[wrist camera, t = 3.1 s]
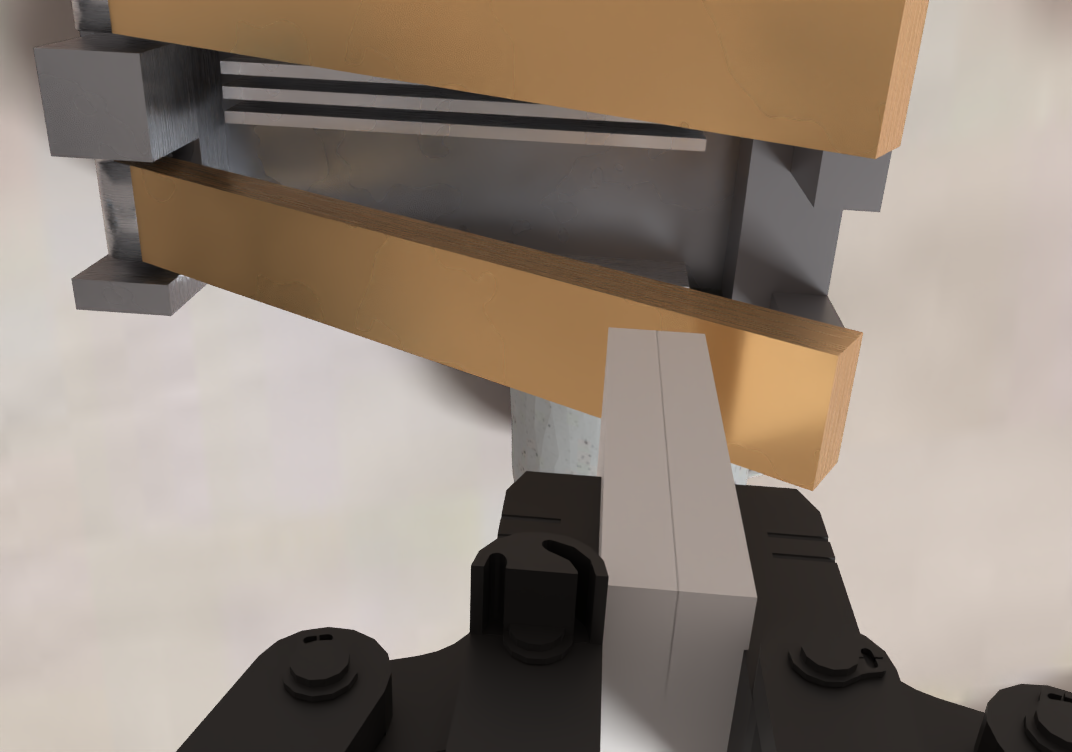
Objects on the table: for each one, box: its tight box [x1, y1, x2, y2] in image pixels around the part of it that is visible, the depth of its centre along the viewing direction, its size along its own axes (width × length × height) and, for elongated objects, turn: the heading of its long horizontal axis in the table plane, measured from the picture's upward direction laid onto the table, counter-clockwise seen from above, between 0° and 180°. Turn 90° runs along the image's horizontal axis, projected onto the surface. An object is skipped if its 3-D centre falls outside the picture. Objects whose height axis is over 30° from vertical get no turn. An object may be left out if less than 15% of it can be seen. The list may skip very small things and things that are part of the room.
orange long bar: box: [95, 153, 863, 491], centre depth 21 cm, size 19×2×2 cm, turn 86°
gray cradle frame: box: [33, 31, 741, 316], centre depth 26 cm, size 20×10×9 cm, turn 87°
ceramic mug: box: [510, 287, 764, 485], centre depth 30 cm, size 11×8×8 cm
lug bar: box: [721, 137, 892, 328], centre depth 23 cm, size 2×10×5 cm, turn 177°
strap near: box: [71, 0, 929, 159], centre depth 18 cm, size 19×2×2 cm, turn 86°
